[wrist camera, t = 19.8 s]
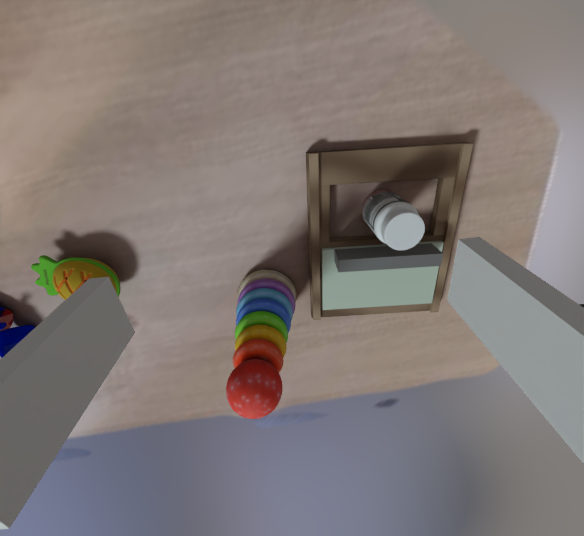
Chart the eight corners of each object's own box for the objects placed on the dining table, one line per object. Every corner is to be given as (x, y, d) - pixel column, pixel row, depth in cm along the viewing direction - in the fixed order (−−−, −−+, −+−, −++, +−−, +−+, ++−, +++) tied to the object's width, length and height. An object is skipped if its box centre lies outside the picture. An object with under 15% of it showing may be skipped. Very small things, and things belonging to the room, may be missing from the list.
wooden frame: (305, 152, 33) (307, 154, 32) (466, 142, 33) (475, 143, 32) (311, 312, 43) (312, 320, 42) (433, 305, 43) (439, 311, 42)
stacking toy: (264, 255, 39) (251, 361, 22) (307, 290, 42) (324, 408, 25) (227, 293, 41) (189, 413, 25) (269, 324, 44) (262, 451, 27)
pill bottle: (405, 215, 37) (436, 240, 30) (370, 233, 38) (391, 262, 31) (391, 181, 35) (420, 199, 28) (354, 201, 36) (373, 224, 29)
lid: (321, 248, 37) (325, 260, 34) (441, 240, 37) (456, 252, 34) (322, 307, 41) (325, 323, 38) (429, 300, 41) (442, 316, 38)
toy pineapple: (130, 298, 41) (111, 322, 37) (53, 286, 40) (22, 309, 35) (128, 254, 38) (107, 274, 34) (44, 240, 37) (10, 258, 32)
